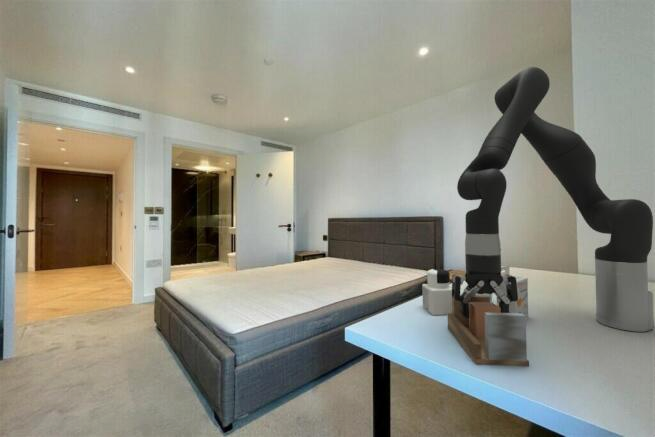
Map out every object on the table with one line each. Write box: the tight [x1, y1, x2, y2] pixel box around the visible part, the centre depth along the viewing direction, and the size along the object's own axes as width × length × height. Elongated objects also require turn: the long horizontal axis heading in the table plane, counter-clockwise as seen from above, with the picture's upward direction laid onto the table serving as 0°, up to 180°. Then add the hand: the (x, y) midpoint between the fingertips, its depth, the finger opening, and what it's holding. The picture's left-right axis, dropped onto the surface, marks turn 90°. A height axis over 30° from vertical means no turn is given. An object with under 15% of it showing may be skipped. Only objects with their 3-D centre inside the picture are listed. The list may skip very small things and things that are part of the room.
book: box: [469, 301, 501, 337], centre depth 64 cm, size 6×4×7 cm
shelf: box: [447, 295, 530, 367], centre depth 60 cm, size 10×17×10 cm, turn 172°
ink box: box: [496, 264, 529, 319], centre depth 75 cm, size 8×5×15 cm, turn 123°
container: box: [421, 268, 452, 316], centre depth 83 cm, size 8×8×13 cm
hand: (484, 317), depth 64 cm, fingers open, 8 cm apart
